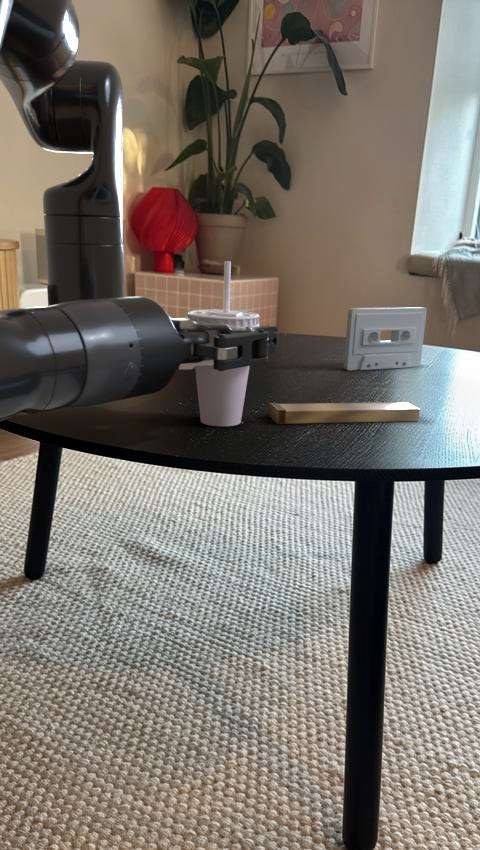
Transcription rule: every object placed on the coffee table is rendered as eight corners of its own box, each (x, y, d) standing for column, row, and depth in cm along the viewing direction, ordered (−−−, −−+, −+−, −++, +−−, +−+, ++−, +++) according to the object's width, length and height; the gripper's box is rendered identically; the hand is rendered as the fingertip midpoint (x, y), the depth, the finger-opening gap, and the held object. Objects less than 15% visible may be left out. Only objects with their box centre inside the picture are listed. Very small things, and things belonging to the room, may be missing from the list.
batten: (277, 424, 69) (278, 410, 69) (269, 416, 72) (269, 402, 71) (418, 421, 72) (420, 407, 72) (405, 413, 75) (407, 401, 74)
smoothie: (204, 433, 65) (207, 262, 60) (174, 416, 70) (175, 258, 65) (268, 426, 68) (276, 263, 63) (235, 411, 73) (240, 259, 68)
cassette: (414, 364, 103) (421, 306, 100) (423, 367, 101) (430, 308, 98) (340, 368, 98) (345, 307, 95) (348, 371, 96) (354, 309, 93)
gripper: (173, 307, 51) (305, 296, 63) (37, 291, 59) (178, 284, 71) (172, 417, 53) (299, 386, 65) (43, 387, 61) (177, 364, 73)
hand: (236, 333), depth 68 cm, fingers open, 8 cm apart
